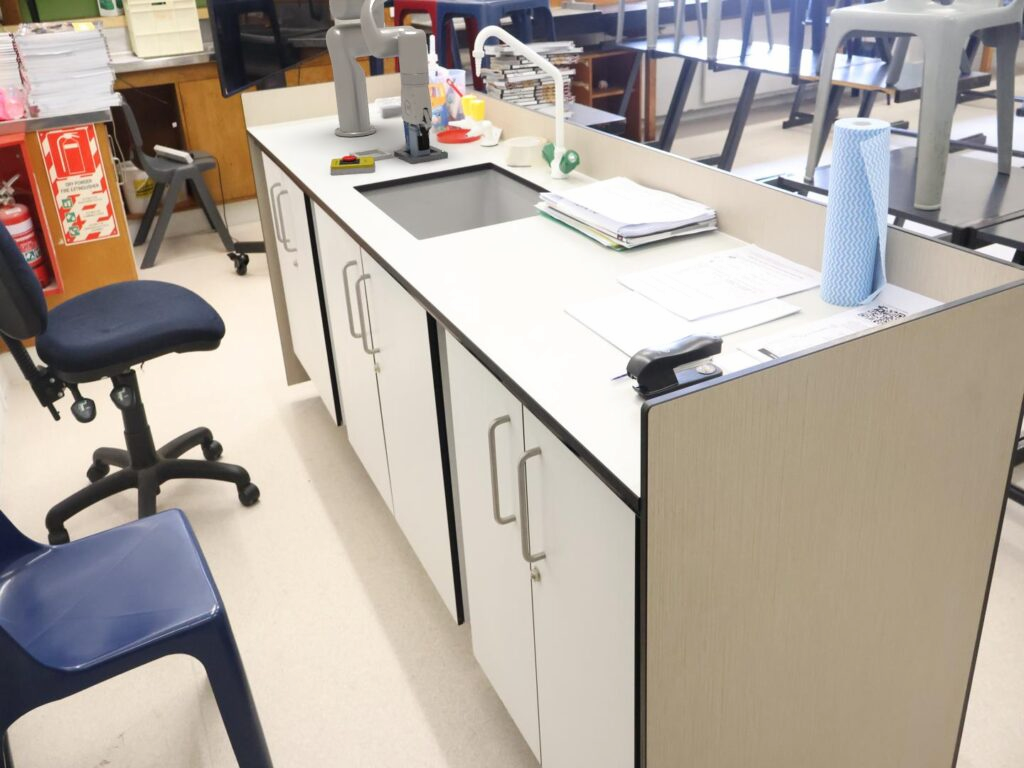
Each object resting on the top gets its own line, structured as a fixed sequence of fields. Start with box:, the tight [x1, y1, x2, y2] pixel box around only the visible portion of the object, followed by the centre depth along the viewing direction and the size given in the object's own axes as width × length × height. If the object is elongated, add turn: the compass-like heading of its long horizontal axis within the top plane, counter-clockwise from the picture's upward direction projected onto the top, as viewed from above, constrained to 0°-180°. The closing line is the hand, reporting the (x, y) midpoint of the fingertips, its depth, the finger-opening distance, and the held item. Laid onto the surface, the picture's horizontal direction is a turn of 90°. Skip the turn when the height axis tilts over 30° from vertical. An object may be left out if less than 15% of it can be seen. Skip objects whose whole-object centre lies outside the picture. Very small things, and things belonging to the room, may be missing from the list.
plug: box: [409, 123, 431, 156], centre depth 249 cm, size 4×4×8 cm
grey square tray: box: [348, 147, 394, 162], centre depth 252 cm, size 9×9×2 cm
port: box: [393, 145, 449, 165], centre depth 250 cm, size 11×11×2 cm
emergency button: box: [330, 155, 376, 176], centre depth 240 cm, size 9×4×15 cm
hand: (420, 147), depth 250 cm, fingers closed on plug, 4 cm apart
